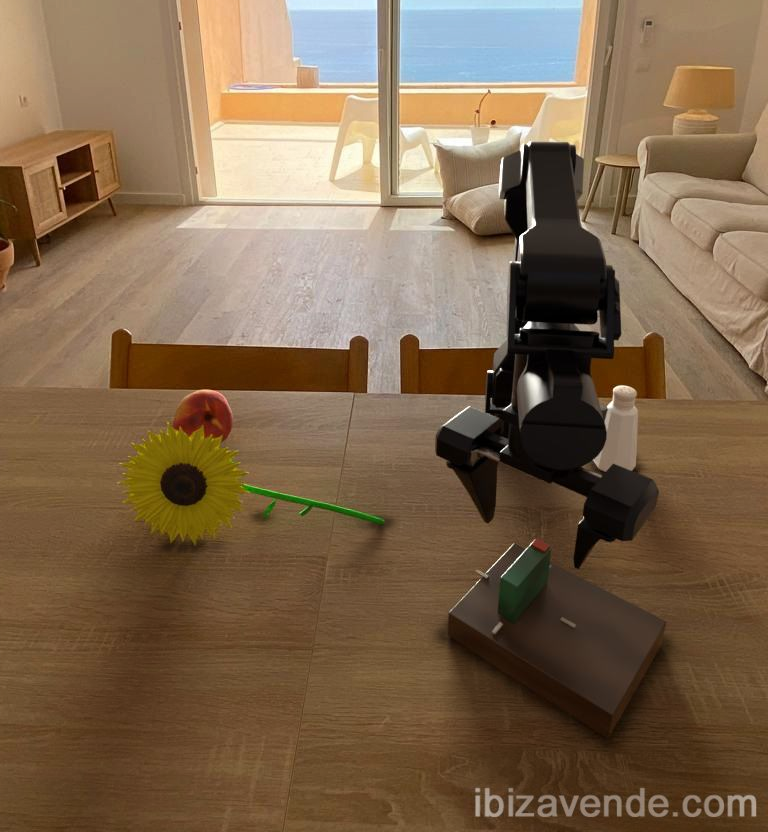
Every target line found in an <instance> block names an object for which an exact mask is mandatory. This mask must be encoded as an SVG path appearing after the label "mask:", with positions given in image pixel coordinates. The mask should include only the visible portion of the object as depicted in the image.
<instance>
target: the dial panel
mask: <svg viewBox="0 0 768 832" xmlns="http://www.w3.org/2000/svg"><path fill="white" fill-rule="evenodd" d="M526 549H527V548H525V547H523V546H521V545H519V544H518V543H515V542H514V543H513V544H512V545H511V546H510V547H509V548H508V549H507V550H506V551H505V552H504V553H503V554H502V555H501V556H500V557H499V559H497V561H496V562H495V563H494V564H493V565H492V566H491V567H490V568H489V569H488V570H487V571H486V572H483V571H481V570H479V569H476V570H475V571H474V573H475V574H477V575H479V576H480V577H481V578H480V579H479V580H478V581H477V582H476V583H475V584H474V585H473V586H472V587H471V588H470V589H469V590H468V592H466V594H465V595H464V596H463V597H462V598H461V599H460V600H459V601H458V602H457V603H456V605H454V606H453V607H452V609H451V610H450V611H449V612H448V618H447V636H448V637H449V638H451V639H452V640H454V641H455V642H457V643H458V644H460V645H461V646H462V647H465V648H466V649H468V651H471V652H472V653H473V654H474V655H477V656H478V657H479V658H482V659H483V660H484V661H486V662H488V663H489V664H491V665H492V666H494V667H496V668H497V669H498V670H499V671H502V672H503V673H504V674H506V675H508V676H509V677H510V678H512V679H514V680H516V681H518V683H520V684H522V685H523V686H525V687H526V688H527V689H529V690H531V691H533V692H534V693H536V694H537V695H538V696H540V697H541V698H543V699H545V700H547V701H548V702H549V703H551V704H553V705H554V706H555V707H557V708H559V709H560V710H562V711H563V712H565V713H567V714H568V715H570V716H571V717H573V718H574V719H575V720H578V721H579V722H581V723H582V724H584V725H585V726H587V727H588V728H590V729H591V730H593V731H594V732H596V733H597V734H599V735H601V736H602V737H604V738H605V739H607V740H608V739H609V738H610V736H611V735H612V733H613V731H614V730H615V727H616V726H617V724H618V722H619V720H620V719H621V717H622V716H623V713H624V711H625V709H626V708H627V706H628V704H629V703H630V701H631V699H632V698H633V696H634V694H635V692H636V690H637V689H638V687H639V685H640V683H641V682H642V680H643V678H644V676H645V674H646V673H647V671H648V669H649V667H650V666H651V664H652V662H653V661H654V658H655V657H656V655H657V654H658V652H659V650H660V648H661V646H662V643H663V640H664V634H665V631H666V625H667V621H666V620H664V619H663V618H661V617H659V616H657V615H655V614H653V613H651V612H649V611H647V610H645V609H643V608H641V607H639V606H637V605H635V604H634V603H632V602H630V601H628V600H626V599H624V598H622V597H620V596H619V595H617V594H614V593H612V592H610V591H609V590H607V589H604V588H602V587H601V586H599V585H597V584H595V583H594V582H593V583H592V582H591V581H589V580H587V579H585V578H583V577H581V576H579V575H577V574H576V573H574V572H571V571H570V570H568V569H566V568H564V567H562V566H561V565H558V564H556V563H554V562H552V561H550V568H549V576H548V582H547V584H546V585H545V586H544V587H543V589H542V590H541V591H540V592H539V593H538V595H537V596H536V597H535V598H534V600H533V601H532V602H531V603H530V604H529V606H528V607H527V608H526V609H525V611H524V612H523V613H522V614H521V615H520V617H519V618H518V619H517V620H516V622H515V623H512V622H511V621H509V620H507V619H506V618H504V617H502V616H501V615H499V614H498V602H499V590H500V578H501V577H502V575H503V574H504V573H505V572H506V571H507V570H508V569H509V568H510V567H511V565H512V564H513V563H514V562H515V561H516V560H517V559H518V558H519V557H520V556H521V554H522V553H523V552H524V551H525V550H526Z"/></svg>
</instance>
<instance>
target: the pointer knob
mask: <svg viewBox="0 0 768 832" xmlns="http://www.w3.org/2000/svg"><path fill="white" fill-rule="evenodd" d="M525 549H526V550H525V551H524V552H523V553H522V554H521V556H520V557H519V558H518V559H517V560H516V561H515V562H514V563H513V564H512V565H511V567H510V568H509V569H508V570H507V571H506V572H505V573H504V574H503V575H502V577H501V578H500V590H499V602H498V614H499V615H501V616H502V617H504V618H506V619H507V620H509V621H511V622H512V623H515V622H516V620H517V619H518V618H519V617H520V615H521V614H522V613H523V612H524V611H525V609H526V608H527V607H528V606H529V604H530V603H531V602H532V601H533V600H534V598H535V597H536V596H537V595H538V593H539V592H540V591H541V590H542V589H543V587H544V586H545V585H546V584H547V582H548V576H549V568H550V562H551V560H552V559H551V558H552V551H553V550H552V549H553V547H552V546H551V545H550V544H548V543H546V542H544V541H542V540H540V539H538V538H535V539H533V541H531V543H530V544H529V545H528V547H527V548H525Z"/></svg>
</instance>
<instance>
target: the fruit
mask: <svg viewBox="0 0 768 832" xmlns="http://www.w3.org/2000/svg"><path fill="white" fill-rule="evenodd" d="M202 425H203V427H204V439H205V438H207V437H209V436H211V435H212V434H213V437H212V439H215V438H218V437H220V436H222V435H223V437H222V440H221V443H220V444H222V443H223V442H224V441H225V440H226V439H227V438H228V437H229V435H230V433H231V431H232V429H233V425H234V416H233V412H232V409H231V407H230V405H229V402H228V400H227V399H226V397H225V396H224V395H223V394H222V393H220V392H219V391H216V390H213V389H199V390H196V391H194V392H192V393H189V394H188V395H186V396H185V397H184V398H182V400H181V401H180V402H179V404H178V406H177V408H176V410H175V413H174V418H173V422H172V428H174V429H175V430H177V431H179V428H180V426H181V428H182V430H183V431H184V432H185V434H187V435H188V437H190V436H191V434H192V433H193V432H195V431H197V430H198V429H200V428H201V427H202Z"/></svg>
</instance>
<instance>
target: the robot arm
mask: <svg viewBox="0 0 768 832" xmlns="http://www.w3.org/2000/svg"><path fill="white" fill-rule="evenodd" d="M584 169H585V159H584V158H583V157H582V156H580V155H579V154H578V153H577V146H576V144H570V143H569V142H568V141H531V140H530V141H529V142H528V143H522V145H521V149H519V150H517V151H515V152H511V154H507V155H505V156H503V157H502V158H501V163H500V171H499V181H498V182H499V185H498V200H504V201H503V206H504V207H503V208H504V209H503V210H504V220H505V222H506V224H507V225H508V227H509V229H510V231H511V232H512V234H513V237H514V248H513V249H514V250H513V260H511V261H509V263H508V273H507V290H506V335H505V337H506V339H505V340H504V341H503V343H502V344H501V345H500V346H499V347H498V348H497V349H496V350H495V352H494V354H493V358H492V359H493V361H492V370H487V372H486V379H485V392H484V411H482V410H480V409H477V408H474V407H472V406H470V405H469V406H467V407H466V408H465V409H463V410H461V411H460V412H459V413H457V414H456V415H454V417H452V418H451V419H449V420H448V421H446V422H445V423H444V424H442V425H441V426H439V428H438V430H437V432H436V434H435V439H434V452H435V455H436V456H437V457H439V458H440V459H442V460H445V464H446V467H447V468H449V469H450V470H452V471H453V472H454V473H455V475H456V476H457V478H458V480H459V481H460V483H461V484H462V485H463V487H464V489H465V490H466V492H467V494H468V495H469V497H470V499H471V501H472V502H473V505H474V506H475V508H476V509H477V511H478V513H479V515H480V517H481V518H482V520H483V522H484V523H485V524H490V523H491V522H492V521H493V520H494V518H495V512H496V506H497V487H498V467H499V463H500V464H502V465H504V466H506V467H509V468H511V469H513V470H515V471H518V472H520V473H522V474H525V475H527V476H529V477H531V478H534V479H536V480H539V481H543V482H545V483H547V484H550V485H551V484H552V483H553V484H556V485H558V486H560V487H563V488H564V489H566V490H567V489H568V490H570V491H572V492H573V493H576V494H578V495H581V496H583V497H585V501H584V503H583V508H582V509H583V510H582V516H583V518H582V519H581V520H580V521H579V523H578V524H577V527H576V536H575V543H574V550H573V567H574V569H576V570H580V568H581V567H582V566H583V564H584V563H585V561H586V560H587V559H588V557H589V556H590V554H591V552H592V550H593V549H594V548H595V546H596V544H597V543H598V542H600V540H602V541H604V542H607V543H613V542H616V540H618V541H620V542H630V541H631V542H632V541H633V540H634V538H635V537H636V536H637V535H638V533H639V532H640V530H641V528H642V527H643V526H644V525H645V523H646V522H647V521H648V519H649V518H650V516H651V515H652V514H653V512H654V510H656V509H657V505H658V499H659V493H660V490H659V487H658V486H657V484H656V481H655V480H654V479H653V478H652V477H648V476H646V475H643V474H641V473H638V472H636V471H633V470H632V471H631V470H628V469H626V468H623V467H621V466H618V465H616V464H612V465H611V466H610V468H609V469H608V470H607V471H606V472H605V471H604V473H603V474H602V475H601V474H600V473H597V472H596V471H595V472H594V471H592V470H590V469H587V468H585V467H584V466H586V465H587V464H589V463H591V462H592V461H593V460H594V459H595V458H596V457H597V456H598V455H599V454H600V452H601V451H602V449H603V448H604V445H605V442H606V438H607V431H606V426H605V422H604V421H605V418H606V414H607V411H608V408H607V406H605V405H602V404H600V402H599V397H598V394H597V390H596V387H595V383H594V380H593V376H592V374H591V365H592V359H601V360H614V357H615V341H619V340H620V338H621V336H622V316H621V292H620V281H619V279H617V278H616V270H615V269H614V268H613V265H612V264H607V259H606V255H605V251H604V249H603V245H602V241H601V239H600V238H599V237H597V236H596V235H595V234H593V233H592V232H590V231H589V230H587V229H585V228H584V227H583V225H582V221H581V215H580V214H581V213H580V209H579V200H580V198H581V197H582V196H583V194H584V193H583V192H584V189H583V188H584ZM598 313H599V314H598ZM598 317H599V319H598ZM598 320H599V329H600V330H599V331H600V332H599V331H594V330H580V329H579V328H578V326H576V325H587V326H591V325H592V326H593V325H595V324H597V323H598Z"/></svg>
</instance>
